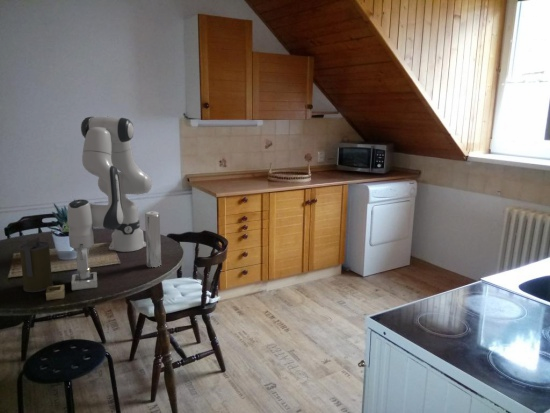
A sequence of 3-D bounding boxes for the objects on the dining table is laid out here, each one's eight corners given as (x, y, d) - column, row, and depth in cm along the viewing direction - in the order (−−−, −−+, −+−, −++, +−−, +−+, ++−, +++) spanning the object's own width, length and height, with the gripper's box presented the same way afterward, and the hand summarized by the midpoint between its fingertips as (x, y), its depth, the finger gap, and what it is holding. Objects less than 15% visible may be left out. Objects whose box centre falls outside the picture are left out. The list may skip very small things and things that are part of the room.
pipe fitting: (78, 282, 174) (77, 266, 172) (91, 281, 175) (90, 265, 174) (78, 287, 169) (77, 271, 168) (91, 285, 171) (90, 269, 170)
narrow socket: (47, 293, 163) (47, 286, 162) (65, 291, 165) (64, 284, 164) (46, 300, 157) (45, 292, 157) (64, 298, 160) (63, 290, 159)
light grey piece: (157, 268, 191) (155, 214, 186) (144, 266, 193) (141, 213, 187) (163, 263, 198) (162, 211, 192) (150, 261, 199) (149, 210, 193)
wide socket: (72, 281, 175) (72, 274, 174) (97, 278, 178) (96, 271, 177) (72, 290, 166) (71, 283, 166) (97, 287, 170) (96, 280, 169)
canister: (31, 281, 173) (26, 234, 169) (57, 281, 174) (53, 235, 170) (17, 293, 163) (11, 243, 158) (45, 292, 164) (41, 243, 159)
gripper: (90, 248, 160) (92, 282, 163) (90, 233, 178) (92, 264, 181) (71, 250, 158) (74, 284, 161) (73, 234, 176) (76, 265, 179)
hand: (84, 273), depth 171 cm, fingers open, 8 cm apart
